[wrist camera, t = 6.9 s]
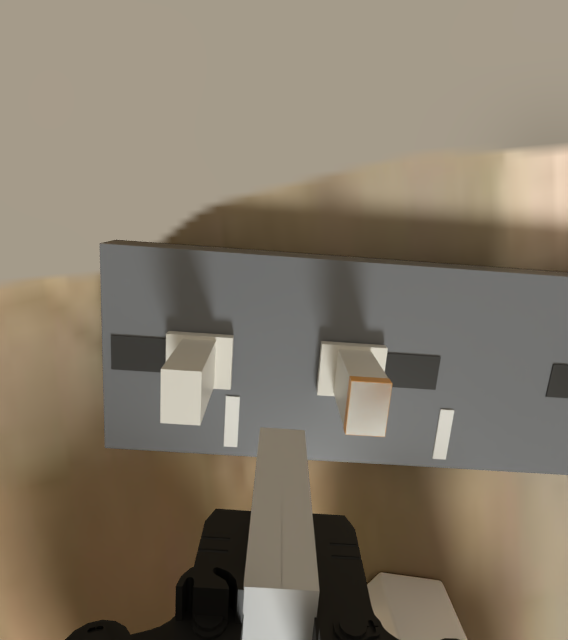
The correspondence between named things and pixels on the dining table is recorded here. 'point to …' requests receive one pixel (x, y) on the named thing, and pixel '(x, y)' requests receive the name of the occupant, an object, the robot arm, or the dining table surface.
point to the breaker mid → (356, 385)
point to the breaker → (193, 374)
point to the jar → (414, 607)
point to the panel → (350, 327)
